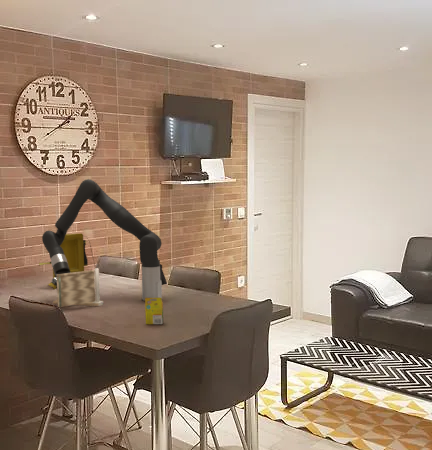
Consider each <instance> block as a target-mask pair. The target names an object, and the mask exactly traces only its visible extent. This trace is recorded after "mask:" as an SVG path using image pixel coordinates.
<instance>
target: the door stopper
mask: <svg viewBox="0 0 432 450" xmlns="http://www.w3.org/2000/svg"><path fill="white" fill-rule="evenodd" d="M160 280H161V281H162V286H163V285H164V286H165V285H168V283H167V279H166V276H165V273H164V270H163V265H162V264H161V263H160Z"/></svg>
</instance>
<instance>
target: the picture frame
mask: <svg viewBox="0 0 432 450" xmlns="http://www.w3.org/2000/svg"><path fill="white" fill-rule="evenodd" d="M94 270H95V271H94V279H95V302H89V303H82V304H76V305H75V306H88V307H90V306H91V307H100V306H102V305H104V300H101V299H100V298H101V296H100V269H99V268H98V267H94ZM52 305H58V298H57V299H56V300H53V301H52Z"/></svg>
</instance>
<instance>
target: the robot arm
mask: <svg viewBox="0 0 432 450" xmlns="http://www.w3.org/2000/svg"><path fill="white" fill-rule="evenodd" d="M88 200H90V201H91V202H93V203H94V204H95V206H97V207H99V208H100V209H101V210H102V212H103V213H104V214H105V215H106V217H107V218H108V219H109V220H110V221H111V222H112V223H114V224H115V226H118V227H119V228H120V229H122V230H123V231H124V232H127V233H129V234H131V235H132V236H134V237H135V238H136V239H138V240H139V246H138V247H139V260H140V263H141V294H142V295H141V299H142V301H144V302H145V298H162V299H163V289H162V287H163V285H162V281H161V280H160V264H161V261H160V259H159V258H158V250H160V249H161V247H162V240H161V238H160V236H159V235H158V234H157V233H155V232H153V231H152V230H151V229H149V228H148V227H146V226H145V225H144V224H143V223H142V222H141V221H140V220H138V219H137V217H135V216H134V215H133V214H132V212H131V211H129V210H127V208H125V207H124V206H123V205H122V204H121V203H119V202H118V201H116V200H115V199H113V198H111V197H110V196H109V195H108V194H107V193H106V191H104V190H103V188H101V186H100V185H99V184H98V183H97V182H96V181H94V180H92V179H89V178H88V179H84V180H82V182H80V184H79V186H78V187H77V190H76V192H75V194H74V195H73V197H72V199H71V201H70V202H69V204H68V206H67V207H66V208H65V210H64V211H63V212H62V214H61V215H60V216H59V218H57V221H55V223H54V228H56V232H54V231H53V230H45V231H44V233H43V234H42V236H41V240H42V244H43V246H44V247H45V250H47V253H48V255H49V258H50V262H51V264H50V265H51V267H52V272H53V271H54V274H55V278H53V277H52V279H51V281H50V283H53V284H54V285H55V286H57V274H65V273H71V272H70V269H69V265H68V262H67V259H66V257H65V255H64V251H63V249H62V247H61V246H60V245H61V244H62V243H63V241H64V238H65V236H66V234H68V230H69V229H70V228H71V227H72V225H73V224H74V222H75V221H76V219H77V217H78V216H79V213H80V212H81V209H82V207H83V206H84V204H85V203H86V202H87V201H88ZM156 300H157V299H150V301H156Z"/></svg>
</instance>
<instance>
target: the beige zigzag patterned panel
mask: <svg viewBox="0 0 432 450" xmlns="http://www.w3.org/2000/svg"><path fill="white" fill-rule="evenodd" d="M94 270H95V269H92V270H84V271H82V272H74V273H65V274H57V287H56V291H57V292H56V293H57V299H58V304H57V307H58V308H62V307H68V306H77V305H76V304H82V303H89V302H95V301H96V298H95V271H94Z"/></svg>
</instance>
